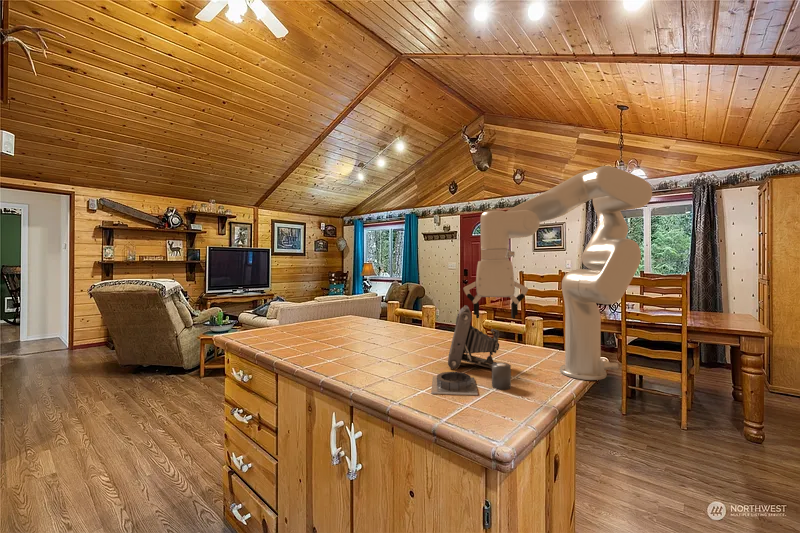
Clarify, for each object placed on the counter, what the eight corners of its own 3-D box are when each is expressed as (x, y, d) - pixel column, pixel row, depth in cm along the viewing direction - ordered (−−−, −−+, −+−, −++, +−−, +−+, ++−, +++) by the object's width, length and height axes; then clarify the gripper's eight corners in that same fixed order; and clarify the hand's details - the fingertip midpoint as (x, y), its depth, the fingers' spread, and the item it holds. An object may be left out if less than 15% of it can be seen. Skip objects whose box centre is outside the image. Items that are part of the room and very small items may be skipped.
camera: (496, 383, 111) (513, 321, 110) (443, 366, 114) (459, 306, 113) (494, 372, 122) (509, 316, 121) (446, 357, 125) (460, 302, 124)
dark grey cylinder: (509, 383, 101) (508, 362, 100) (512, 390, 96) (512, 367, 95) (490, 383, 101) (490, 361, 101) (493, 389, 96) (493, 367, 96)
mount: (473, 379, 104) (473, 370, 104) (477, 395, 92) (477, 385, 92) (432, 378, 106) (432, 369, 106) (431, 393, 94) (431, 384, 94)
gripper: (525, 255, 101) (525, 315, 101) (463, 256, 104) (463, 315, 104) (530, 255, 93) (530, 320, 94) (462, 256, 96) (463, 319, 97)
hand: (495, 317), depth 99 cm, fingers open, 9 cm apart
